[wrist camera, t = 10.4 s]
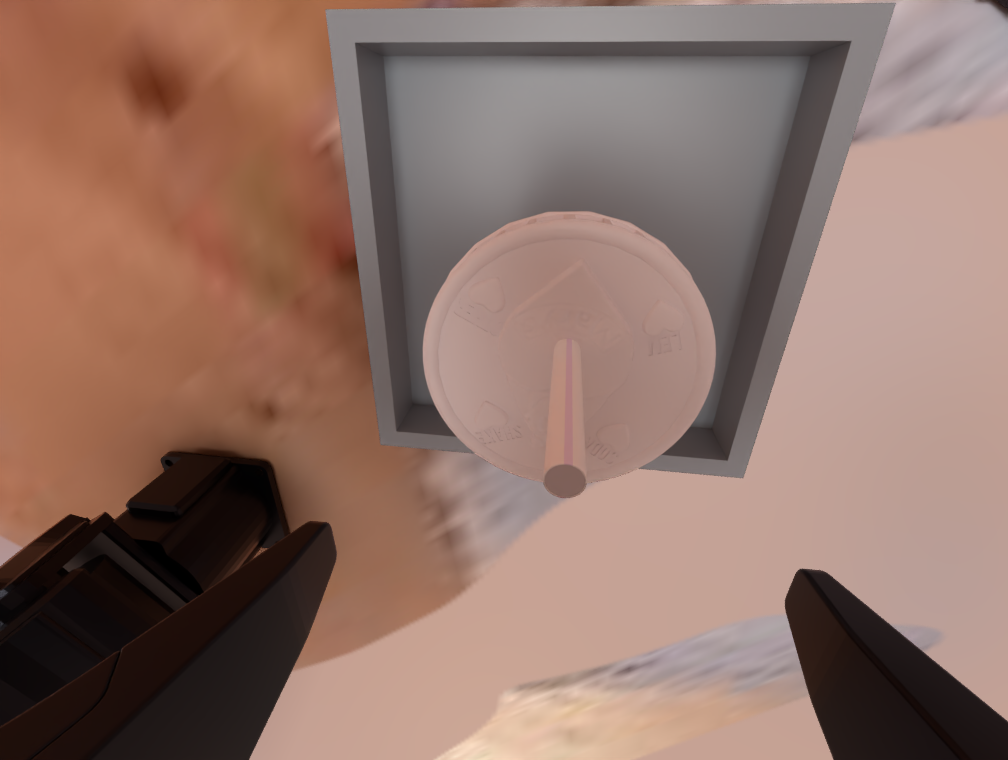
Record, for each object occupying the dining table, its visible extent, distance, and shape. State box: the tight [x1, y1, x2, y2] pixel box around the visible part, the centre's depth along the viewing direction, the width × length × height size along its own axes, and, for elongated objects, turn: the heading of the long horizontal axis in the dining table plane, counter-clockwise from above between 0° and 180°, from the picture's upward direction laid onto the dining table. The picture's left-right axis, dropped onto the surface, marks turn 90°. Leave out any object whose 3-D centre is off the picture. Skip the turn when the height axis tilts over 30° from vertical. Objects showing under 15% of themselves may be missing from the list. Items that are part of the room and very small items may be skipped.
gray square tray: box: [326, 3, 896, 478], centre depth 18 cm, size 16×16×3 cm
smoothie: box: [423, 211, 716, 498], centre depth 12 cm, size 6×6×14 cm
